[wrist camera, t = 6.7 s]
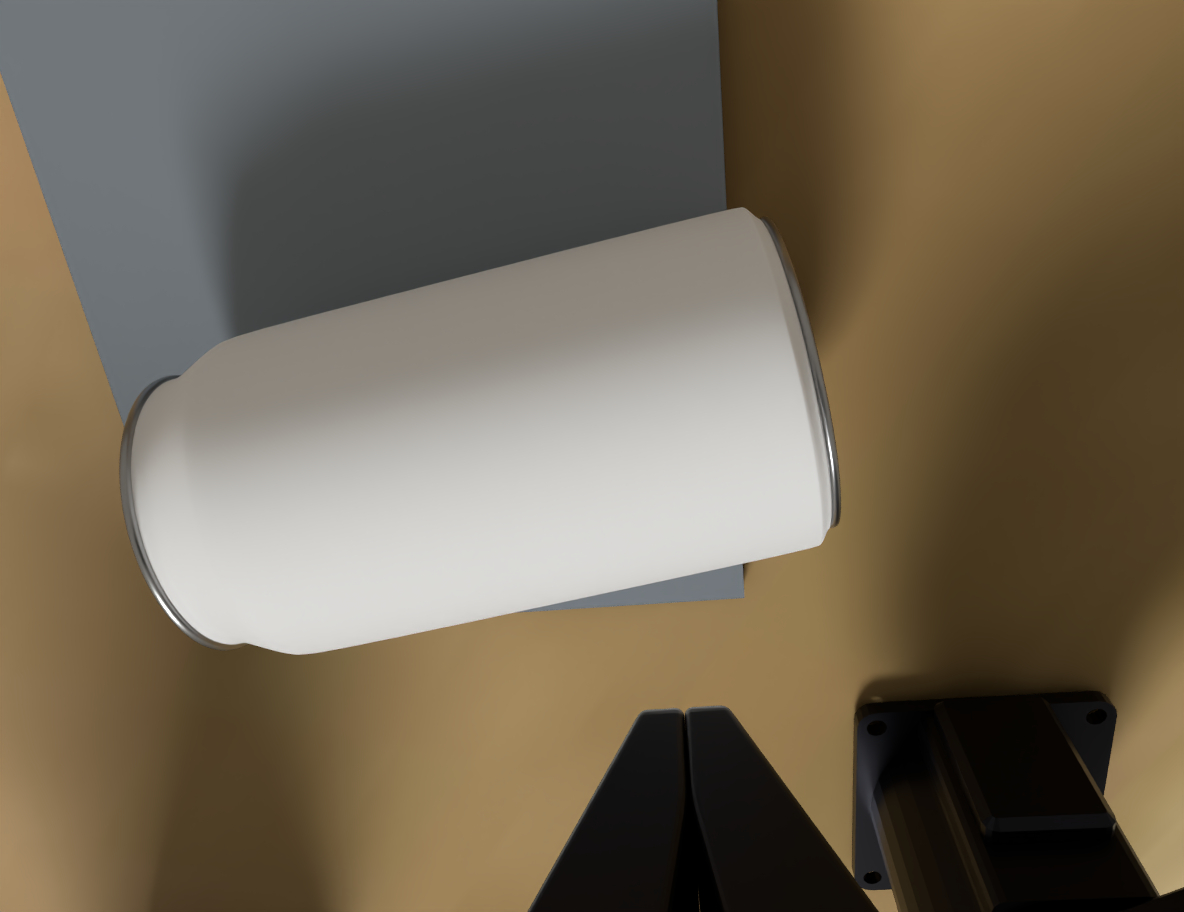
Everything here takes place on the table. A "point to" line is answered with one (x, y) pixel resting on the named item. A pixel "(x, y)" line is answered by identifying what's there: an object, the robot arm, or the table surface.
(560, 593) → the can
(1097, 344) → the table surface
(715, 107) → the mat
